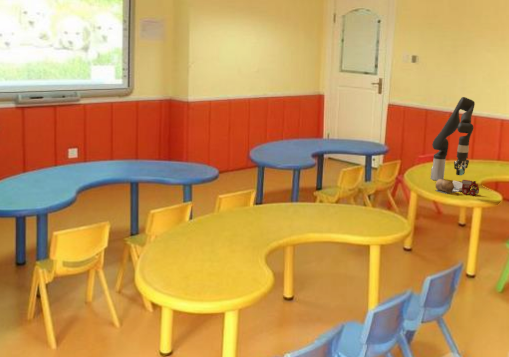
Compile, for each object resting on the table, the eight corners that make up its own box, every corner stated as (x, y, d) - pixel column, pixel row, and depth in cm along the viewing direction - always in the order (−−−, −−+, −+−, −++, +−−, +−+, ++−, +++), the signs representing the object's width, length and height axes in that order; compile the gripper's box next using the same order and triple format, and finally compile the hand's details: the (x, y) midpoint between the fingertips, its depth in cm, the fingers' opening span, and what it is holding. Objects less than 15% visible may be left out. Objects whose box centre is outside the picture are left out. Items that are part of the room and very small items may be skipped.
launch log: (435, 190, 481) (436, 179, 479) (442, 189, 486) (443, 178, 484) (446, 193, 473) (447, 182, 471) (453, 192, 478) (454, 181, 476)
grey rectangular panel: (435, 190, 481) (435, 190, 481) (453, 187, 493) (453, 187, 493) (445, 193, 473) (446, 193, 473) (464, 190, 485) (464, 190, 485)
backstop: (446, 187, 489) (447, 181, 488) (452, 186, 493) (453, 180, 492) (459, 191, 481) (459, 184, 479) (465, 190, 484) (465, 183, 483)
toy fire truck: (477, 196, 468) (478, 182, 466) (459, 194, 474) (461, 180, 472) (479, 194, 474) (480, 180, 472) (461, 192, 480) (463, 178, 478)
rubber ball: (454, 175, 466) (455, 168, 465) (459, 174, 469) (460, 167, 468) (460, 176, 462) (461, 169, 461) (465, 175, 465) (466, 168, 464)
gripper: (464, 149, 468) (462, 172, 472) (451, 151, 460) (449, 174, 464) (473, 151, 462) (470, 174, 466) (460, 153, 454) (457, 176, 458)
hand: (460, 174), depth 465 cm, fingers closed on rubber ball, 5 cm apart
